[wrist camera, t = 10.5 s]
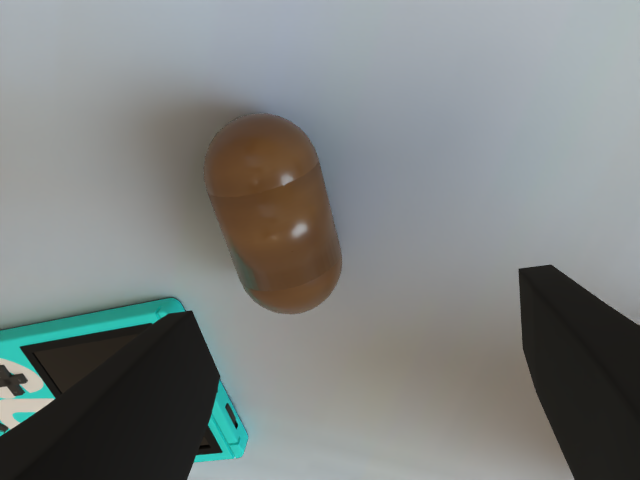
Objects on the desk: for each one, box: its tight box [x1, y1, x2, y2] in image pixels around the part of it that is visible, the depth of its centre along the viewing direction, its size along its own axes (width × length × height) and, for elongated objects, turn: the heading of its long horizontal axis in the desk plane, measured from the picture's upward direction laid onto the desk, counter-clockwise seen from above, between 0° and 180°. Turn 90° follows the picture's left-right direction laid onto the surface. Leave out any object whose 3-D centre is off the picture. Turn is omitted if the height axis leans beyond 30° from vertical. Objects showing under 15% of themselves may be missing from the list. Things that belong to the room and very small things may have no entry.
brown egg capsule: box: [203, 113, 342, 314], centre depth 17 cm, size 8×4×4 cm, turn 14°
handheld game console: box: [0, 298, 248, 462], centre depth 25 cm, size 10×16×1 cm, turn 107°
